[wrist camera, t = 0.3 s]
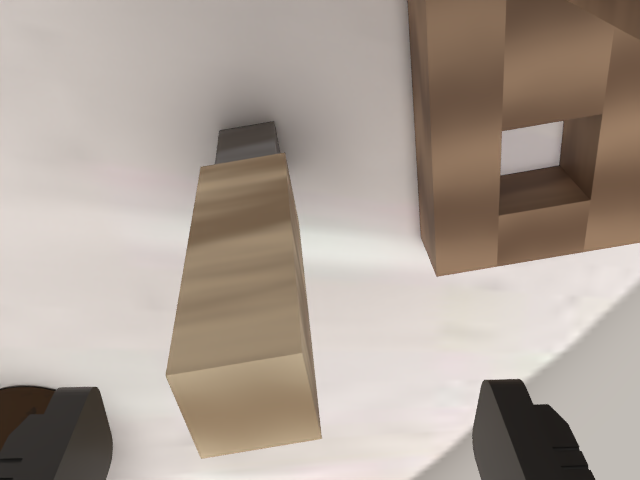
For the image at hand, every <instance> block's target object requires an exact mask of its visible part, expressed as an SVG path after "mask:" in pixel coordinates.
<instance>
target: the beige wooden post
mask: <svg viewBox="0 0 640 480" xmlns="http://www.w3.org/2000/svg"><path fill="white" fill-rule="evenodd" d="M166 378H167V380H168V383H169V385H170V387H171V390H172V392H173V394H174V397H175V399H176V401H177V404H178V406H179V408H180V411H181V413H182V415H183V418H184V420H185V422H186V425H187V427H188V429H189V432H190V434H191V436H192V439H193V441H194V443H195V446H196V448H197V450H198V453H199V455H200V457H201V459H203V458H209V457H215V456H221V455H227V454H233V453H239V452H245V451H251V450H257V449H263V448H269V447H275V446H281V445H287V444H293V443H299V442H305V441H312V440H318V439H322V436H321V427H320V418H319V408H318V399H317V389H316V380H315V371H314V361H313V352H312V342H311V333H310V324H309V314H308V305H307V295H306V286H305V277H304V267H303V258H302V248H301V239H300V229H299V222H298V216H297V211H296V206H295V201H294V196H293V191H292V186H291V181H290V176H289V171H288V166H287V161H286V156H285V153H280V149H279V144H278V139H277V134H276V129H275V124H274V121H273V122H268V123H262V124H256V125H250V126H244V127H238V128H232V129H227V130H221V131H219V137H218V145H217V153H216V161H215V165H209V166H203V167H201V168H200V174H199V180H198V186H197V192H196V198H195V204H194V210H193V216H192V221H191V227H190V233H189V239H188V245H187V251H186V257H185V263H184V269H183V275H182V281H181V287H180V293H179V299H178V305H177V311H176V317H175V322H174V328H173V334H172V340H171V346H170V352H169V358H168V364H167V370H166Z"/></svg>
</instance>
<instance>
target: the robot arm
mask: <svg viewBox="0 0 640 480" xmlns="http://www.w3.org/2000/svg"><path fill="white" fill-rule="evenodd" d="M472 436H473V437H472V439H473V450H474V455H475V460H476V463H477V466H478V470H479V473H480V477H481V480H595V478H594V476H593V474H592V472H591V470H589V469H588V464H587V462H586V460H585V458H584V456H583V454H582V451H580V450H579V445H578V443H577V441H576V439H575V437H574V435H573V433H572V431H571V429H570V427H569V425H568V423H567V422H566V421H565V420H564V419H563V418H562V417H561V416H560V415H559V414H558V413H557V412H556V411H555V410H554V409H553V408H551V406H549V405H547V404H546V405H545V404H543V405H533V403H532V401H531V398H530V396H529V393H528V391H527V389H526V387H525V385H524V383H523V382H522V381H521V380H520V379H505V380H484V381H483V382H482V385H481V390H480V395H479V400H478V405H477V410H476V415H475V420H474V425H473V434H472ZM112 450H113V442H112V435H111V431H110V427H109V423H108V420H107V416H106V412H105V408H104V405H103V401H102V397H101V394H100V391H99V389H98V388H97V387H64V388H58V389H57V390H56V391H55V392H54V394H53V396H52V398H51V400H50V402H49V404H48V406H47V409H46V411H45V413H44V414H30V415H29V416H28V417H27V418H26V419H25V420H24V421H23V422H22V423H21V424H20V425H19V426H18V427H17V428H16V429H15V430H14V431H13V432H12V433H11V434H10V435H9V436H8V438H7V440H6V442H5V444H4V445H3V447H2V449H1V451H0V480H106V478H107V474H108V471H109V468H110V464H111V459H112Z"/></svg>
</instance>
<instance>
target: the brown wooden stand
mask: <svg viewBox="0 0 640 480" xmlns="http://www.w3.org/2000/svg"><path fill="white" fill-rule="evenodd" d="M408 16H409V34H410V52H411V70H412V87H413V105H414V123H415V141H416V159H417V176H418V194H419V212H420V230H421V239H422V241H423V244H424V246H425V249H426V251H427V254H428V256H429V259H430V261H431V264H432V266H433V269H434V271H435V274H436V276H437V277H438V276H444V275H449V274H455V273H461V272H467V271H473V270H479V269H485V268H491V267H497V266H503V265H509V264H515V263H521V262H527V261H533V260H539V259H545V258H551V257H557V256H563V255H569V254H575V253H581V252H587V251H593V250H599V249H605V248H611V247H617V246H623V245H629V244H634V243H640V0H408ZM558 121H564V127H563V137H562V147H561V157H560V166H556V167H550V168H545V169H539V170H533V171H527V172H521V173H515V174H509V175H503V176H500V167H501V138H502V131H505V130H511V129H517V128H523V127H529V126H535V125H541V124H546V123H552V122H558Z"/></svg>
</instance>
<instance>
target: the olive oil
mask: <svg viewBox="0 0 640 480" xmlns="http://www.w3.org/2000/svg"><path fill="white" fill-rule="evenodd" d="M54 392H55V391H53V390H49V389H44V388H37V387H14V388H7V389H2V390H0V451H1V449H2V447H3V445H4V444H5V442H6V440H7V438H8V436H9V435H10V434H11V433H12V432H13V431H14V430H15V429H16V428H17V427H18V426H19V425H20V424H21V423H22V422H23V421H24V420H25V419H26V418H27V417H28V416H29V415H30V414H44V413H45V411H46V409H47V406H48V404H49V402H50V400H51V398H52V396H53V394H54Z"/></svg>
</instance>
